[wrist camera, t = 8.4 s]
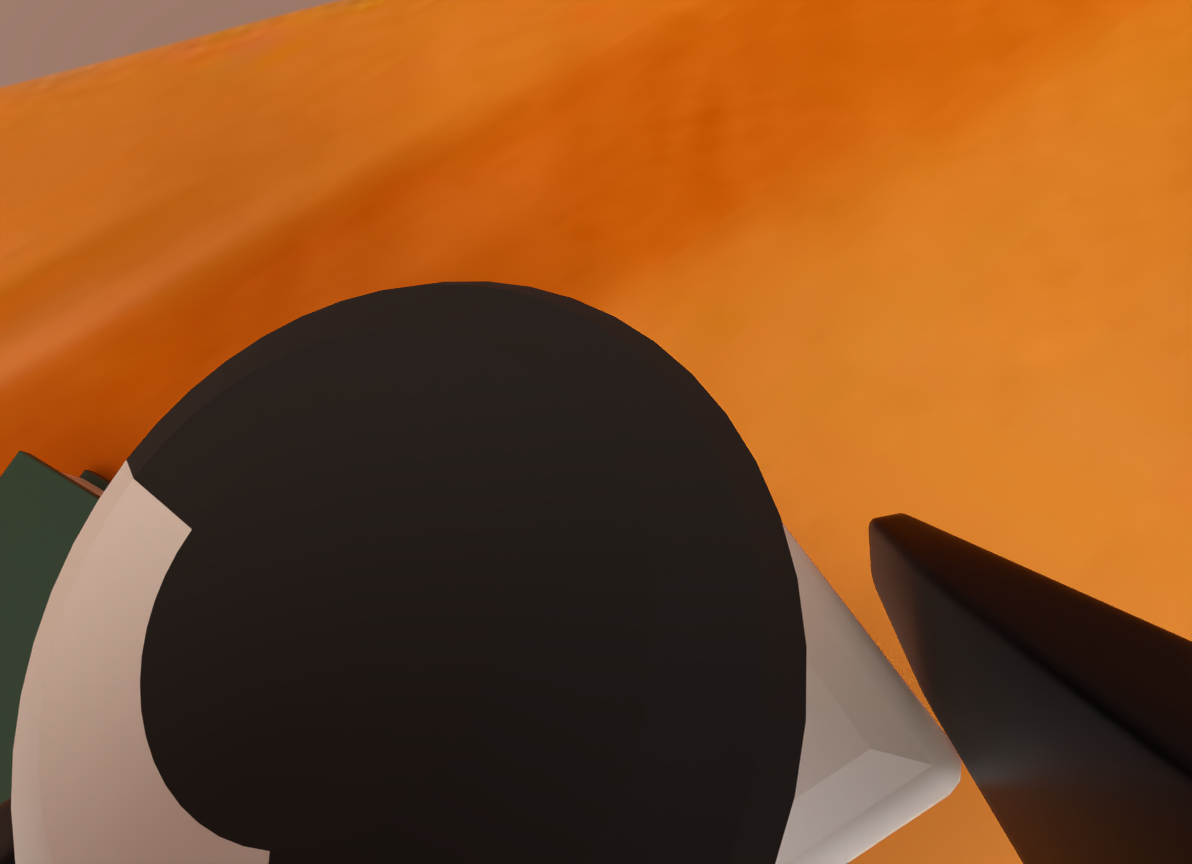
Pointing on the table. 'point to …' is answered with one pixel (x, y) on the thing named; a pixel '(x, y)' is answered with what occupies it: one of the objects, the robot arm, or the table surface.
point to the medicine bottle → (456, 619)
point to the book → (32, 570)
